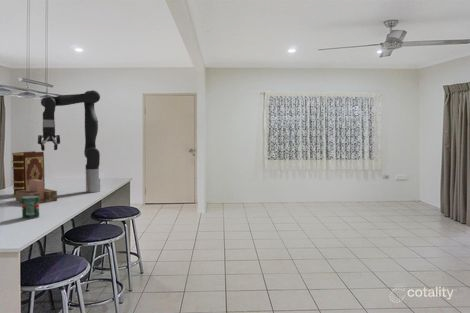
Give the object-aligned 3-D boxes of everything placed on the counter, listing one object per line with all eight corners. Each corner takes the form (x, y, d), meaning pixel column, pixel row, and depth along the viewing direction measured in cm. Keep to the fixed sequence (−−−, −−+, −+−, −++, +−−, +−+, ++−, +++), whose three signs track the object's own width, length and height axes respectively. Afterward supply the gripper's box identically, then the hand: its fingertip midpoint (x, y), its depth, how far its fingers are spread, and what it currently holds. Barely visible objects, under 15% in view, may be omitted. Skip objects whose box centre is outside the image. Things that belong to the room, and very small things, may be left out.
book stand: (40, 197, 244) (40, 187, 243) (57, 200, 232) (56, 190, 232) (15, 200, 230) (15, 190, 230) (31, 204, 219) (31, 194, 219)
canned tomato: (19, 217, 188) (19, 196, 187) (35, 214, 194) (35, 194, 194) (26, 219, 183) (25, 198, 182) (42, 217, 189) (41, 196, 189)
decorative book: (21, 197, 243) (20, 153, 240) (11, 196, 244) (9, 152, 242) (45, 191, 264) (44, 151, 262) (35, 191, 266) (34, 151, 264)
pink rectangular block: (35, 197, 236) (35, 179, 235) (44, 199, 230) (43, 180, 229) (29, 197, 233) (28, 179, 232) (37, 200, 227) (37, 181, 226)
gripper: (55, 126, 251) (56, 149, 252) (35, 126, 239) (35, 150, 240) (61, 126, 246) (62, 150, 248) (41, 126, 235) (41, 151, 236)
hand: (49, 150), depth 244 cm, fingers open, 8 cm apart
